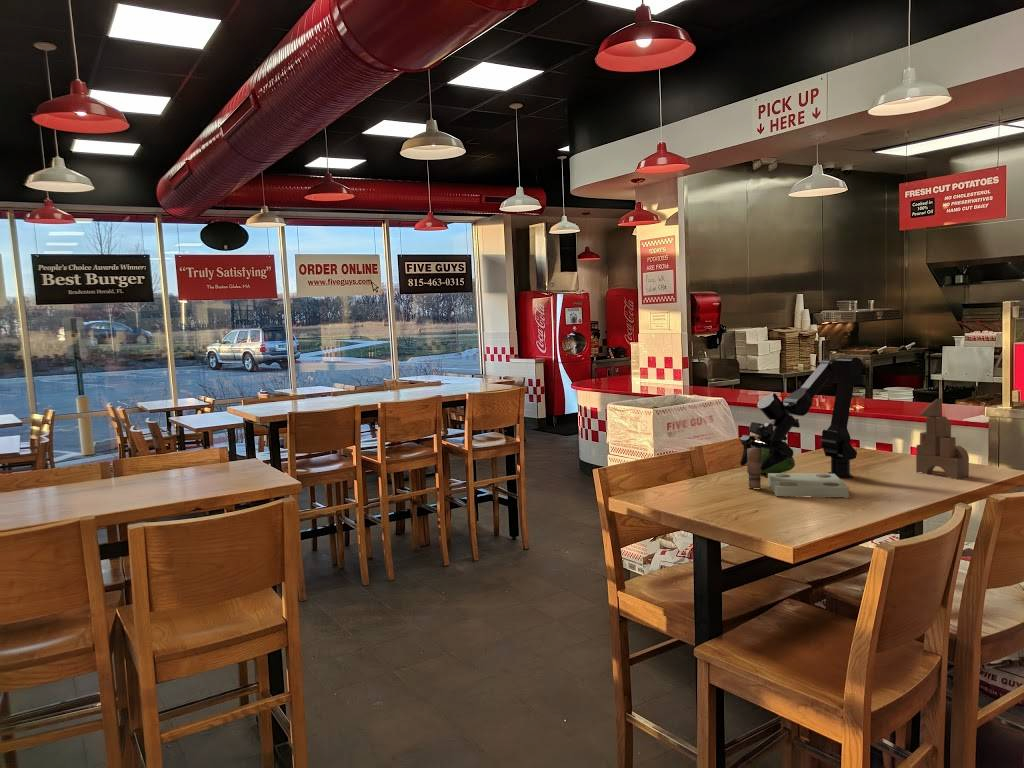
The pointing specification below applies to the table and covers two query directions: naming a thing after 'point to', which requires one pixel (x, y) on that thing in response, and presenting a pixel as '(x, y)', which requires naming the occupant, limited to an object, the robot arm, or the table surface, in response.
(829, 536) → the table surface
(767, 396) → the robot arm
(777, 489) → the seat board
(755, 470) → the stool leg
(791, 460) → the fruit
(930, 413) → the wooden toy
